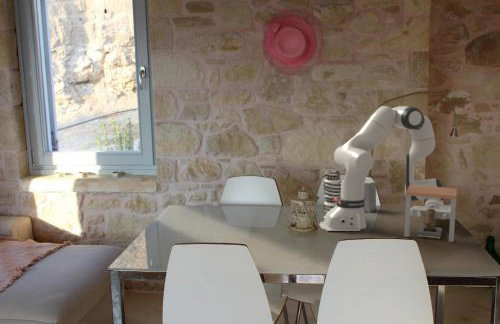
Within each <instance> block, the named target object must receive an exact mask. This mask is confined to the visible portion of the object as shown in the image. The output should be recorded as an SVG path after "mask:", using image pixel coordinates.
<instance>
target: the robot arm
mask: <svg viewBox="0 0 500 324" xmlns="http://www.w3.org/2000/svg"><path fill="white" fill-rule="evenodd" d="M392 127H393V128H395V129H396V128H398V129H401V130H408V131H409V133H410V140H411V144H410V145H411V147H409V149H408V150H407V151H406V157H405V187H404V194H405V196H406V191H407V189H408V187H409V185H417V186H431V187H445V186H444V184H443V182H442V181H441V180H440V179H438V178H429V179H428V178H427V179H422V180H421V179H420V180H415V166H416V165H415V164H416V163H417V162H419V161H420V160H422V159H424V158H426V157H427V156H429V155H431V154H432V153H433V152H434V149H435V148H436V137H435V132H434V129H433V125H432V122H431V119H430V118H429V117H428V116H425V115H424V114H423V113H422V111H421V110H420V109H419V108H417V107H414V106H407V105H397V106H392V107H390V106H387V105H382V106H380V107H378V108H377V109H376V110H375V111H374V112H373V113H372V114H371V115H370V117H369V118H368V119H367V120H366V121H365V123H364V124H363V126H362V127H361V129H360V130H359V131H358V132H357V133H356V134H355V135H354V136H353V137H352V138H350V139H349V140H348V141H347V142H346V143H344V144H343V145H340V146H338V147H337V148H336V149H335V150H334V153H333V158H334V161H335V163H337V165H339V166H340V167H342V168H344V169H346V172H345V174H344V178H343V179H342V180H341V181H342V182H341V183H340V184H341V186H340V188H341V190H340V191H341V193H340V195H341V196H340V198H339V199H337V198H335V199H334V201H335V202H337V205H336V206H335V207H334V208H332V209H331V210H330V211H328V212H327V213H326V215H325V219H324V218H323V221H320V222H319V227H320V229H322V230H323V229H324V230H323V231H325V230H326V232H328V231H360V230H361V229H363V230H365V229H366V228H367V227H366V226H367V223H366V219H365V218H366V217H365V211H364V208H365V199H364V184H365V181H366V179H367V176H368V173H369V172H370V171H371V170H372V169H373V167H374V164H375V163H374V162H375V161H374V157H373V155H372V154H371V153H370V151H371V150H373V149H375V148H376V147H378V146H379V145H380V143H381V142H382V141H383V139H384V138H385V136H387V134H388V133H389V131H390V130H391V128H392ZM444 199H445V198H434V197H422V196H411V202H415V201H419V200H426V201H425V203H424V206H423V205H422V206H421V205H413V206H412V207H411V209H410V217H418V218H419V219H423V218H427V209H434V210H435V220H436V219H440V220H441V221H444V220H450V212H451V203H445V202H444ZM364 228H365V229H364ZM361 231H362V230H361ZM361 231H360V232H361Z"/></svg>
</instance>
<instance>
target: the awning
mask: <svg viewBox="0 0 500 324" xmlns="http://www.w3.org/2000/svg"><path fill="white" fill-rule="evenodd" d="M457 191H458V188H456V187H455V188H454V187H445V186H444V187H431V186H417V185H409V187H408V189H407V191H406V195H405V212H404V234H403V235H404V236H409V237H410V229H411V227H410V226H411V215H410V209H411V206H412V205H411V204H412V201H411V196H422V197H434V198H444V199H446V200H447V199H450V201H451V202H450V205H451V212H450V219H449V230H448V231H449V234H448V241H449V240H450V241H455V226H456V225H455V224H456V212H457V211H456V210H457V209H456V208H457V193H458V192H457ZM442 232H443V227H439V226H436V227H435V226H434V232H429V231H426V225H419V226H418V230H417V235H422V236H434V237H441V238H442V234H443V233H442ZM441 233H442V234H441ZM404 236H403V237H404Z"/></svg>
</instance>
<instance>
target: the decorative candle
mask: <svg viewBox="0 0 500 324" xmlns="http://www.w3.org/2000/svg"><path fill="white" fill-rule="evenodd" d="M341 182H342V180H341V172H340V171H339V170H338V169H335V168H334V169H332V168H331V169H327V170H326V171H325V172H324V182H323V189H324V190H323V196H324V204H323V209H324V210H323V219H324V218H325V215H326V213H327V212H328V211H330V210H331V209H332V208H334V207H335V206H336V205H337V202H335V201H334V199H335V198H337V199H339V198H340V197H341Z"/></svg>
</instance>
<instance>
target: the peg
mask: <svg viewBox="0 0 500 324" xmlns="http://www.w3.org/2000/svg"><path fill="white" fill-rule="evenodd" d="M435 220H436V219H435V210H434V209H427V217H426V221H425V222H426V223H425V226H426V231H429V232H434V227H435Z"/></svg>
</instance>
